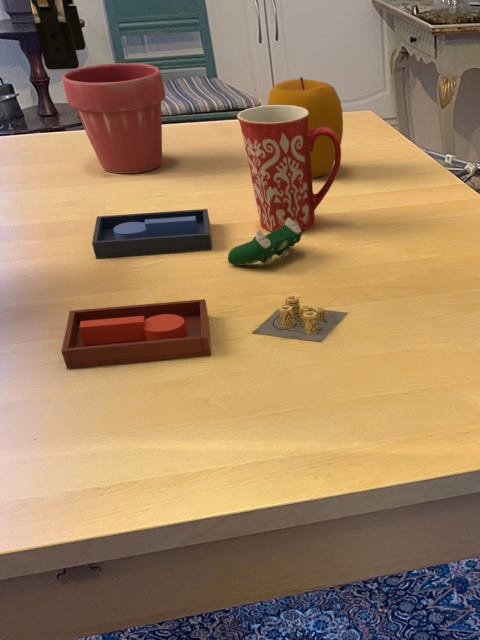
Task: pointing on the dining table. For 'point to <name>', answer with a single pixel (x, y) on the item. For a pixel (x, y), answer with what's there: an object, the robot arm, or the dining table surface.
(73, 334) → the red tray
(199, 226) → the blue tray
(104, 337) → the red spoon
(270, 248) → the green elongated piece
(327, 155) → the apple
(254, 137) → the mug
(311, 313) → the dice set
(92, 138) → the flower pot
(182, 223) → the blue spoon
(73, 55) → the robot arm
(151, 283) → the dining table surface
